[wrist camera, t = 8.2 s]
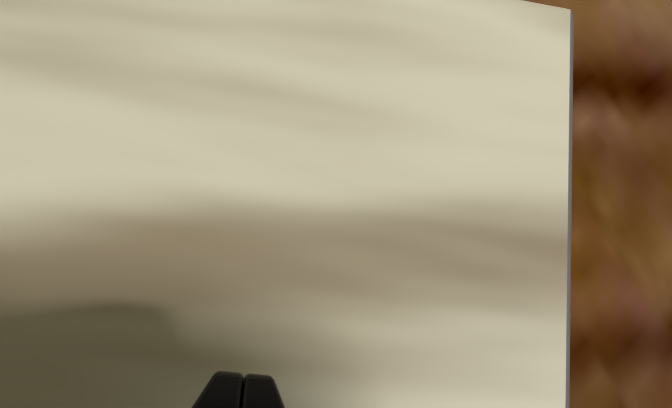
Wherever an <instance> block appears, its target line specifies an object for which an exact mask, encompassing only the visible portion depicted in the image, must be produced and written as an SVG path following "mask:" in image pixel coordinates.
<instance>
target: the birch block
mask: <svg viewBox="0 0 672 408" xmlns="http://www.w3.org/2000/svg"><path fill="white" fill-rule="evenodd" d="M569 83H570V9H565V8H559V7H554V6H549V5H543V4H538V3H533V2H527V1H522V0H0V408H192V406H193V405H194V403H195V402H196V400H197V398H198V397H199V395H200V394H201V392H202V391H203V389H204V388H205V386H206V385H207V383H208V382H209V380H210V379H211V377H212V376H213V374H214V373H215V372H217V371H229V372H239V373H241V374H242V375H243V377H245V375H247V374H249V373H251V374H262V375H270V376H272V377H273V379H274V380H275V383H276V385H277V388H278V390H279V393H280V396H281V398H282V401H283V403H284V406H285V408H565V402H566V322H567V242H568V163H569ZM243 381H244V380H243Z"/></svg>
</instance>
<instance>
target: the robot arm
mask: <svg viewBox="0 0 672 408" xmlns="http://www.w3.org/2000/svg"><path fill="white" fill-rule="evenodd" d="M243 380H244V381H243ZM192 408H285V406H284V403H283V401H282V398H281V396H280V393H279V390H278V388H277V385H276V383H275V380H274V379H273V377H272V376H270V375H262V374H251V373H249V374H247V375H245V377H243V375H242V374H241V373H239V372H229V371H217V372H215V373H214V374H213V376H212V377H211V379H210V380H209V382H208V383H207V385H206V386H205V388H204V389H203V391H202V392H201V394H200V395H199V397H198V398H197V400H196V402H195V403H194V405H193V406H192Z"/></svg>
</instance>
